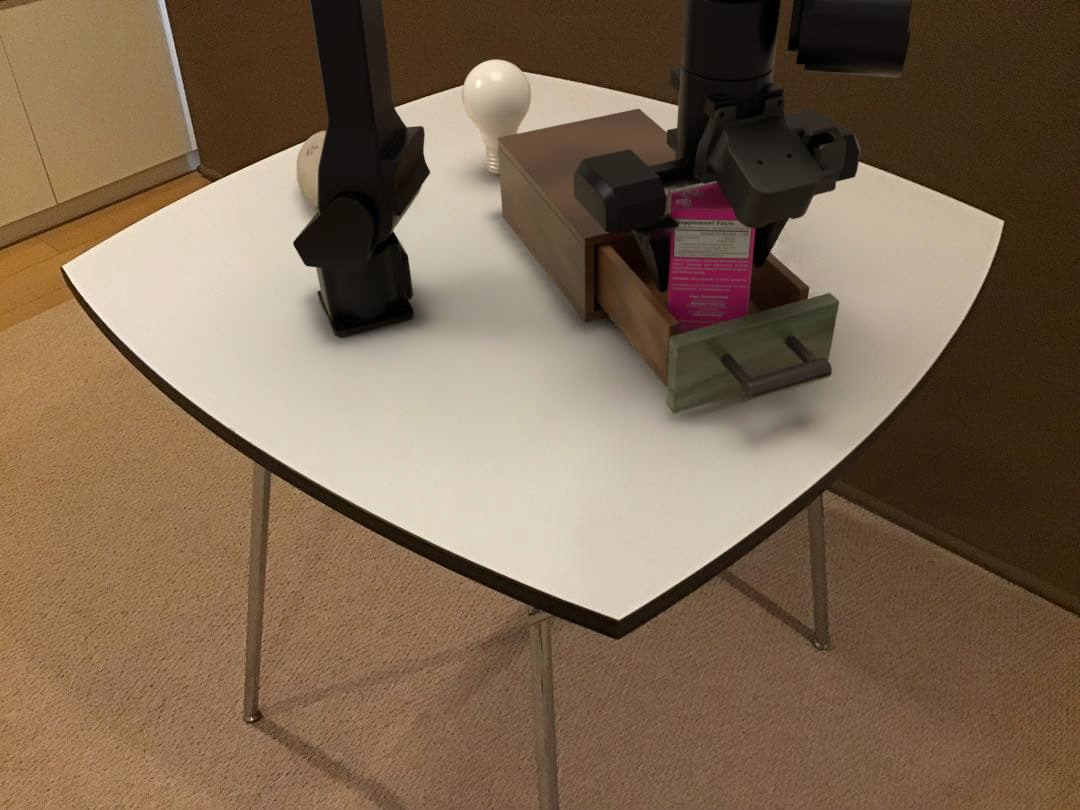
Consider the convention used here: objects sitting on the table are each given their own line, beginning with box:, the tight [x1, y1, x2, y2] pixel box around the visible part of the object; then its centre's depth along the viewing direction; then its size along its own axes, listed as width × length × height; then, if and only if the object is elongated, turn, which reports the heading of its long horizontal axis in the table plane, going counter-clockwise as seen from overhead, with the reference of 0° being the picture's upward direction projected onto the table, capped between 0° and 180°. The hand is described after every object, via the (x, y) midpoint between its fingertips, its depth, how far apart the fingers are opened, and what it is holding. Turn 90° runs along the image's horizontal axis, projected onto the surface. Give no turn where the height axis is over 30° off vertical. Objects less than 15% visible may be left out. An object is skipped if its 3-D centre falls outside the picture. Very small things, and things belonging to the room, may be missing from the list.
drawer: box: [594, 235, 840, 414], centre depth 76 cm, size 22×12×6 cm, turn 22°
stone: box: [296, 130, 326, 208], centre depth 97 cm, size 6×6×12 cm
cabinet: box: [498, 108, 676, 323], centre depth 87 cm, size 19×14×8 cm
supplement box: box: [668, 183, 756, 334], centre depth 73 cm, size 6×6×12 cm
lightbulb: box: [461, 59, 532, 176], centre depth 97 cm, size 6×6×11 cm
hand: (708, 277), depth 74 cm, fingers closed on supplement box, 7 cm apart
